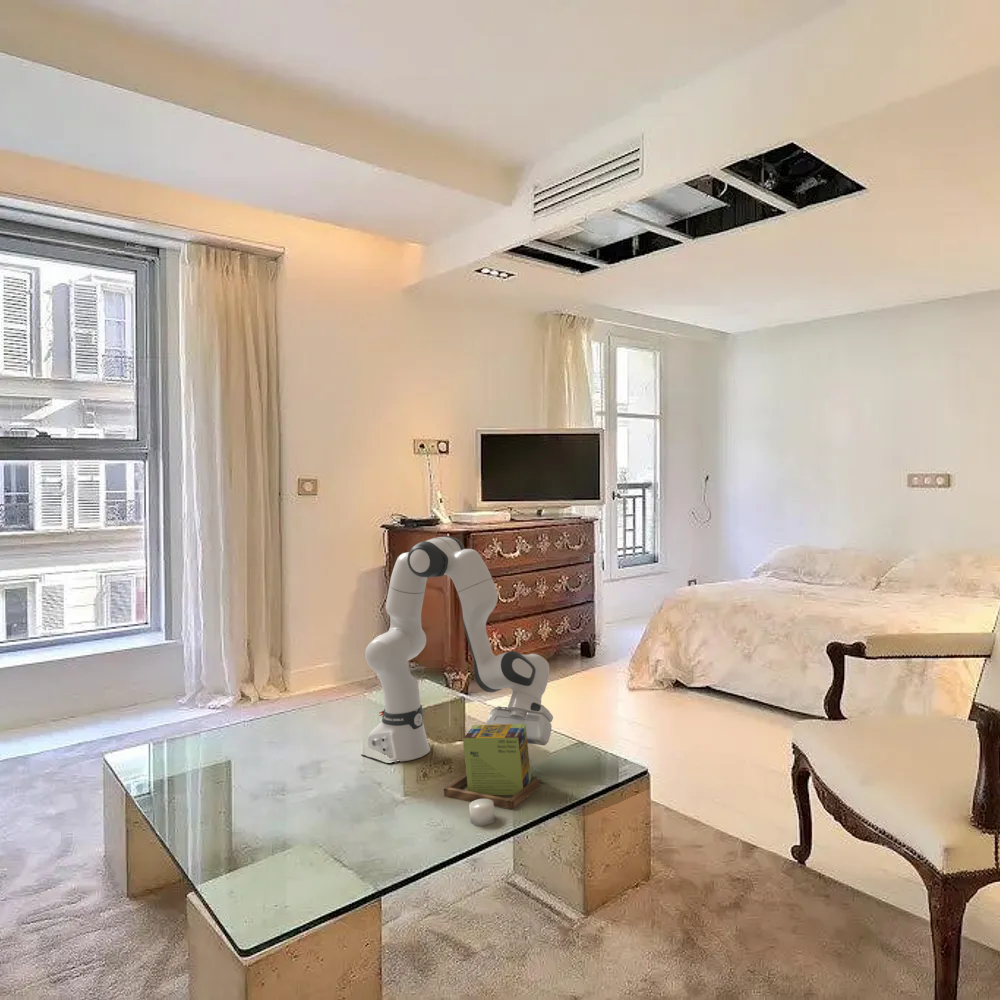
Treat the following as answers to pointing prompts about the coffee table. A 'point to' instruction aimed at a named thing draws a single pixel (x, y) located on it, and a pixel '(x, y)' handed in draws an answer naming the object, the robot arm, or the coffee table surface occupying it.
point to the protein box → (497, 759)
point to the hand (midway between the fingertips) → (508, 755)
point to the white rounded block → (482, 812)
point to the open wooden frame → (456, 792)
